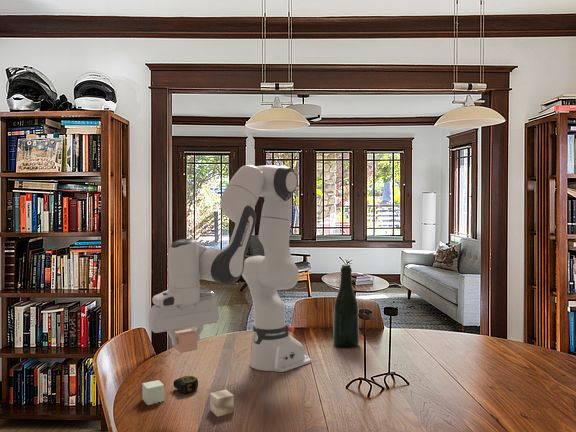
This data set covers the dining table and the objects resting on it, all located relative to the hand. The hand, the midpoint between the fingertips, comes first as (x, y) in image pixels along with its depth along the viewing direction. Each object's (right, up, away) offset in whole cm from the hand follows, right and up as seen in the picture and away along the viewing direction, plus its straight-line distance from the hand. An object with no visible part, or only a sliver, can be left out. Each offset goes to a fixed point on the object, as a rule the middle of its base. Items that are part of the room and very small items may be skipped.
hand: (185, 342), depth 144 cm
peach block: (0, -2, 0) cm, 2 cm away
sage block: (-10, -18, +4) cm, 21 cm away
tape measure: (-2, -18, +11) cm, 21 cm away
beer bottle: (+53, -16, +58) cm, 80 cm away
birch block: (+11, -19, -4) cm, 22 cm away
